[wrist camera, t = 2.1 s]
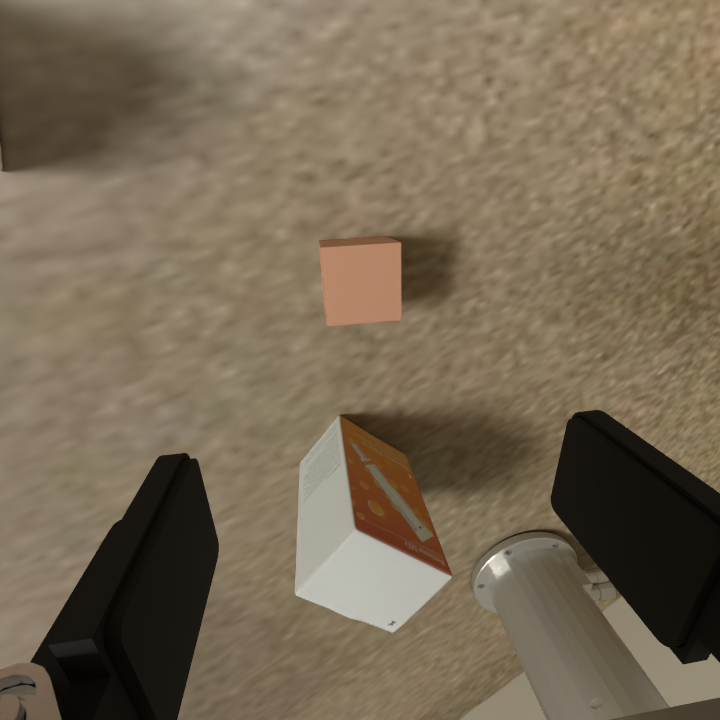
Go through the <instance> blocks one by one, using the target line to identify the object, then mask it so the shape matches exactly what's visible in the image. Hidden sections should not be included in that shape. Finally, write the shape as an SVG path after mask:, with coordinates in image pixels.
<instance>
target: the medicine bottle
mask: <svg viewBox="0 0 720 720" xmlns="http://www.w3.org/2000/svg"><path fill="white" fill-rule="evenodd" d="M2 168H3V164H2V154H1V144H0V171H1V170H2Z"/></svg>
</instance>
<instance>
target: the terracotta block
mask: <svg viewBox="0 0 720 720" xmlns="http://www.w3.org/2000/svg"><path fill="white" fill-rule="evenodd" d="M319 251H320V263H321V274H322V285H323V296H324V308H325V314H326V321H327V326H336V325H347V324H359V323H371V322H383V321H394V320H401V242H399V241H396V240H394V239H391V238H388V237H370V238H354V239H338V240H322V241H319Z"/></svg>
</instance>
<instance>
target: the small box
mask: <svg viewBox="0 0 720 720" xmlns="http://www.w3.org/2000/svg"><path fill="white" fill-rule="evenodd" d="M451 578H452V573H451V571H450V568H449V566H448V563H447V561H446V558H445V556H444V553H443V550H442V548H441V545H440V543H439V540H438V537H437V535H436V532H435V529H434V527H433V524H432V521H431V519H430V516H429V514H428V511H427V508H426V506H425V503H424V501H423V498H422V495H421V493H420V490H419V488H418V485H417V482H416V480H415V477H414V474H413V472H412V469H411V466H410V464H409V461H408V459H407V456H406V454H405V453H403V452H401V451H399V450H397V449H395V448H393V447H392V446H390V445H388V444H386V443H385V442H383V441H381V440H380V439H378V438H376V437H375V436H373V435H371V434H370V433H368V432H366V431H365V430H363V429H362V428H360V427H358V426H357V425H355V424H353V423H352V422H350V421H349V420H347V419H345V418H344V417H342V416H340V415H339V416H338V417H337V418H336V419H335V421H334V422H333V423H332V424H331V426H330V427H329V428H328V429H327V430H326V432H325V433H324V434H323V435H322V437H321V438H320V439H319V440H318V441H317V443H316V444H315V445H314V446H313V447H312V449H311V450H310V451H309V452H308V454H307V455H306V456H305V457H304V459H303V460H302V461H301V462H300V476H299V500H298V529H297V556H296V580H295V595H296V596H299V597H301V598H304V599H306V600H308V601H311V602H313V603H316V604H318V605H321V606H324V607H326V608H329V609H331V610H333V611H335V612H337V613H339V614H341V615H343V616H346V617H349V618H351V619H355V620H359V621H362V622H365V623H368V624H371V625H373V626H376V627H379V628H382V629H384V630H387V631H389V632H392V633H393V632H395V631H396V630H397V629H398V628H399V627H400V626H402V625H403V624H404V623H405V622H406V621H407V620H408V619H409V618H410V617H411V616H412V615H414V614H415V613H416V612H417V611H418V610H419V609H420V608H421V607H422V606H423V605H424V604H425V603H426V602H427V601H428V600H429V599H430V598H431V597H432V596H433V595H434V594H435V593H436V592H438V591H439V590H440V589H441V588H442V587H443V586H444V585H445V584H446V582H448V581H449V580H450V579H451Z"/></svg>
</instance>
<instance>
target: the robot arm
mask: <svg viewBox="0 0 720 720" xmlns="http://www.w3.org/2000/svg"><path fill="white" fill-rule="evenodd" d="M551 504H552V507H553V510H554V511H555V513H556V514H557V515H558V517H559V518H560V519H561V520H562V522H563V523H564V524H565V525H566V526H567V528H568V529H569V530H570V531H571V533H572V534H573V535H574V536H575V538H576V539H577V540H578V541H579V543H580V544H581V545H582V546H583V548H584V549H585V550H586V551H587V553H588V554H589V555H590V556H591V558H592V559H593V560H594V561H595V563H596V564H597V565H598V566H599V568H596V569H591V570H588V571H585V570H583V569H581V568H580V567H579V566H578V559H577V555H576V553H575V551H574V550H573V548H572V547H571V546H570V545H569V543H568V542H567V541H566V540H565V539H563V538H562V537H560V536H558V535H555V534H553V533H547V532H530V533H523V534H520V535H516V536H513V537H511V538H509V539H506V540H504V541H502V542H501V543H499V544H497V545H496V546H494V547H493V548H492V549H491V550H489V551H488V552H487V553H486V554H485V555H484V556H483V557H482V558H481V559H480V561H479V562H478V564H477V565H476V567H475V569H474V572H473V574H472V580H471V586H472V590H473V593H474V595H475V598H476V600H477V601H478V603H479V604H480V605H481V606H482V607H483V608H484V609H486V610H488V611H490V612H493V613H496V614H498V616H499V618H500V620H501V622H502V624H503V626H504V629H505V631H506V633H507V635H508V637H509V639H510V642H511V644H512V646H513V648H514V650H515V652H516V655H517V657H518V659H519V661H520V663H521V665H522V668H523V670H524V672H525V674H526V676H527V678H528V680H529V682H530V684H531V687H532V689H533V691H534V693H535V696H536V698H537V700H538V702H539V704H540V706H541V708H542V711H543V713H544V715H545V717H546V719H547V720H720V698H716V699H710V700H705V701H701V702H695V703H691V704H685V705H680V706H675V707H669V705H668V704H667V702H666V701H665V700H664V698H663V697H662V696H661V694H660V693H659V691H658V690H657V688H656V687H655V686H654V684H653V683H652V682H651V680H650V679H649V677H648V676H647V675H646V673H645V672H644V670H643V669H642V668H641V666H640V665H639V663H638V662H637V661H636V659H635V658H634V657H633V655H632V654H631V652H630V651H629V650H628V648H627V647H626V645H625V644H624V643H623V641H622V640H621V638H620V637H619V636H618V634H617V633H616V632H615V630H614V629H613V627H612V626H611V625H610V623H609V622H608V620H607V619H606V618H605V616H604V615H603V613H602V612H601V611H600V609H599V608H598V606H597V605H596V604H595V602H594V601H593V600H605V599H611V598H615V596H616V591H615V589H614V586H615V588H616V589H617V590H618V591H619V593H620V594H621V595H622V596H623V598H625V600H626V601H627V603H628V604H629V605H630V606H631V607H632V609H633V610H634V611H635V612H636V614H637V615H638V616H639V617H640V619H641V620H642V621H643V622H644V624H645V625H646V626H647V627H648V629H649V630H650V631H651V632H652V634H653V635H654V636H655V637H656V638H657V640H659V642H661V643H662V644H663V645H664V646H667V647H669V648H670V649H671V650H672V651H673V653H674V654H675V655H676V656H677V657H678V659H679V660H680V661H681V662H682V664H687V663H693V662H698V661H703V660H707V659H708V657H709V655H710V654H711V653H712V655H713V656H714V657H715V658H716V659H717V660H718V661H719V662H720V493H718V492H717V491H716V490H714V489H713V488H711V487H710V486H709V485H707V484H706V483H704V482H703V481H701V480H700V479H699V478H697V477H696V476H694V475H693V474H691V473H690V472H689V471H687V470H686V469H684V468H683V467H682V466H680V465H679V464H677V463H676V462H674V461H673V460H672V459H670V458H669V457H667V456H666V455H664V454H663V453H662V452H660V451H659V450H657V449H656V448H655V447H653V446H652V445H650V444H649V443H647V442H646V441H645V440H643V439H642V438H640V437H639V436H637V435H636V434H635V433H633V432H632V431H630V430H629V429H628V428H626V427H625V426H623V425H622V424H620V423H619V422H618V421H616V420H615V419H613V418H612V417H610V416H609V415H608V414H606V413H605V412H603V411H601V410H593V411H584V412H577V413H575V414H574V415H573V417H572V419H570V420H569V421H568V423H567V426H566V431H565V435H564V440H563V444H562V449H561V453H560V458H559V462H558V467H557V471H556V476H555V481H554V485H553V490H552V494H551ZM218 552H219V544H218V538H217V534H216V530H215V526H214V523H213V519H212V515H211V511H210V507H209V503H208V499H207V495H206V491H205V487H204V483H203V479H202V475H201V471H200V467H199V463H198V461H197V459H195V458H194V459H190V457H189V455H188V454H186V453H182V454H172V455H162V456H159V457H158V459H157V460H156V462H155V463H154V465H153V467H152V468H151V470H150V472H149V474H148V475H147V477H146V479H145V480H144V482H143V484H142V486H141V487H140V489H139V491H138V492H137V494H136V496H135V497H134V499H133V501H132V503H131V504H130V506H129V508H128V509H127V511H126V513H125V515H124V516H123V518H122V520H119V521H118V522H116V523H115V524H114V525H113V526H112V528H111V529H110V530H109V532H108V534H107V535H106V537H105V539H104V540H103V542H102V544H101V545H100V547H99V549H98V550H97V552H96V554H95V555H94V557H93V559H92V560H91V562H90V564H89V565H88V567H87V569H86V570H85V572H84V574H83V575H82V577H81V579H80V580H79V582H78V584H77V585H76V587H75V589H74V590H73V592H72V594H71V595H70V597H69V599H68V600H67V602H66V604H65V605H64V607H63V609H62V610H61V612H60V614H59V615H58V617H57V619H56V620H55V622H54V624H53V625H52V627H51V629H50V630H49V632H48V633H47V635H46V637H45V638H44V640H43V642H42V643H41V645H40V647H39V648H38V650H37V652H36V653H35V655H34V657H33V658H32V660H31V662H30V663H19V664H14V665H12V666H9V667H6V668H3V669H0V720H177V718H178V714H179V710H180V706H181V702H182V698H183V694H184V690H185V686H186V682H187V678H188V674H189V670H190V666H191V662H192V658H193V654H194V650H195V646H196V642H197V638H198V634H199V630H200V626H201V622H202V618H203V614H204V610H205V606H206V602H207V598H208V595H209V591H210V587H211V583H212V579H213V575H214V571H215V567H216V563H217V559H218ZM609 580H610V581H611V582H610V581H609ZM612 584H613V585H614V586H613V585H612Z"/></svg>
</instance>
